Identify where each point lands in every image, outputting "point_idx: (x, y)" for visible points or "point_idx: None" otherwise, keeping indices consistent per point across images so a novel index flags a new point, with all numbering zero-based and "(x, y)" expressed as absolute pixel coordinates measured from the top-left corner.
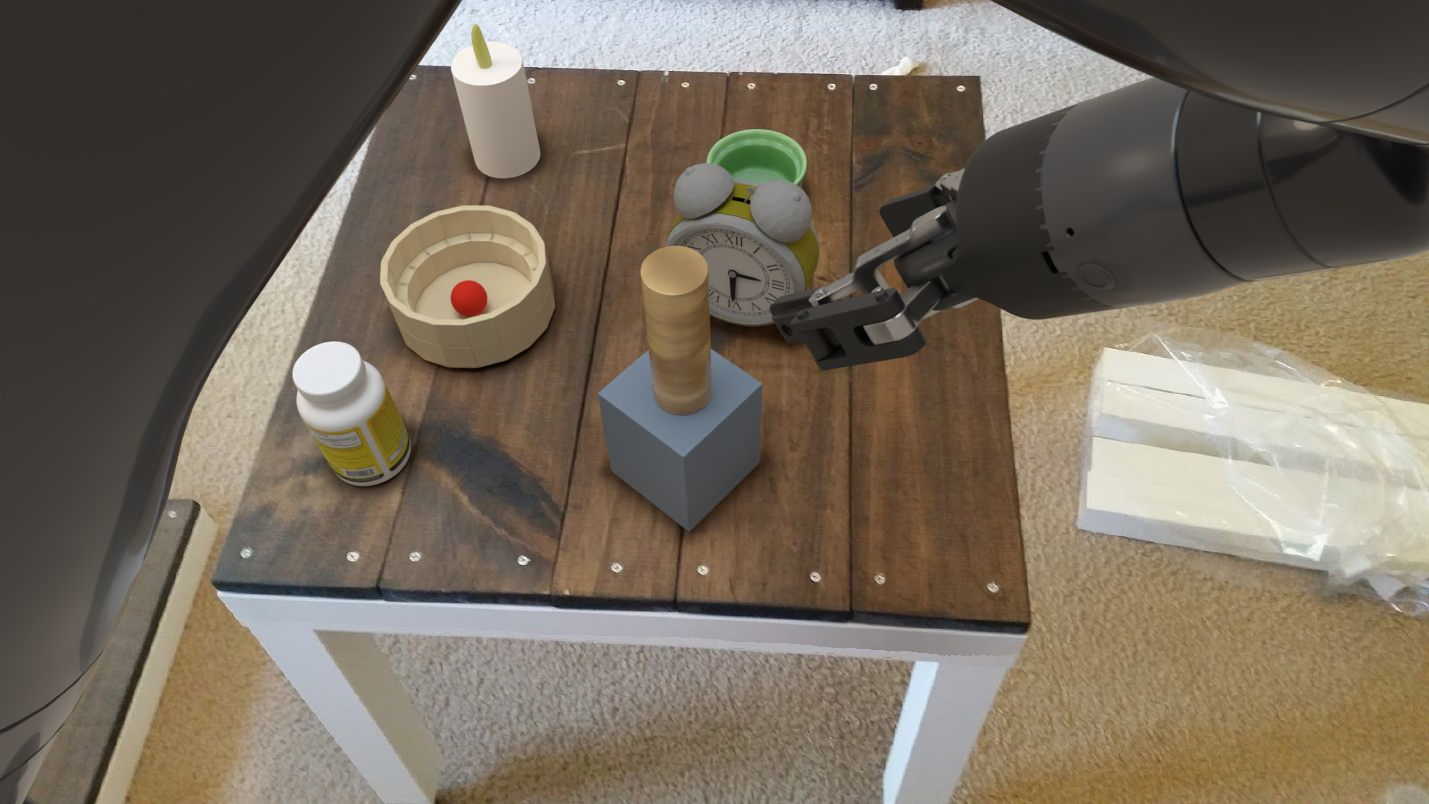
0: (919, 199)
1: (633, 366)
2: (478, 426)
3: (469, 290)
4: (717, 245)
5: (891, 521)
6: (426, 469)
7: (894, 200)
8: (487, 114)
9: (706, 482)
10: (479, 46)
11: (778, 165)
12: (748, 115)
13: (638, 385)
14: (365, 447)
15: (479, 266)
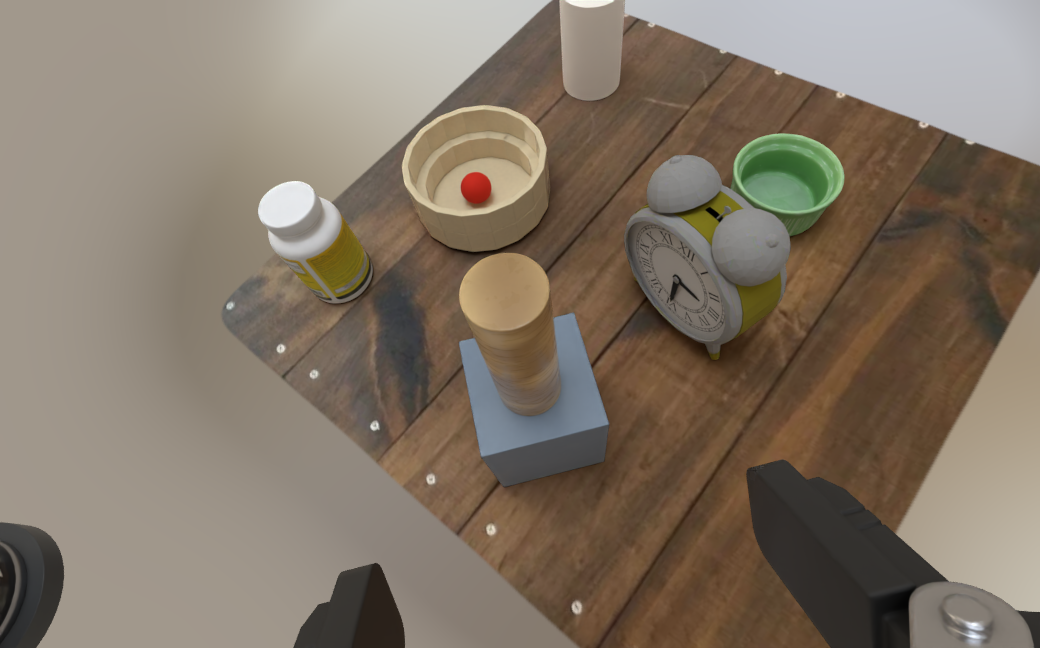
0: (838, 574)
1: None
2: (421, 295)
3: (473, 182)
4: (671, 247)
5: (684, 604)
6: (366, 309)
7: (787, 486)
8: (573, 35)
9: (523, 468)
10: None
11: (813, 182)
12: (819, 121)
13: None
14: (309, 276)
15: (507, 164)
